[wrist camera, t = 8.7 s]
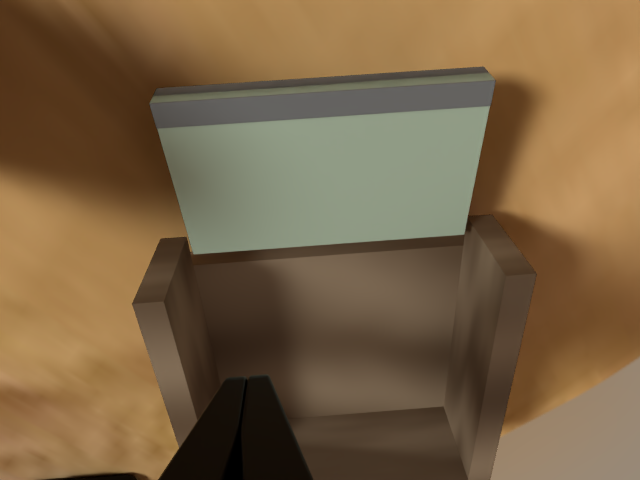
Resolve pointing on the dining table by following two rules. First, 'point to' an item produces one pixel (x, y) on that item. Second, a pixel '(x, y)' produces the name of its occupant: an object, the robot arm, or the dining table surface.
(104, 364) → the dining table surface
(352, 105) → the green grey flat panel
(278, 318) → the brown hollow box
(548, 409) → the dining table surface
